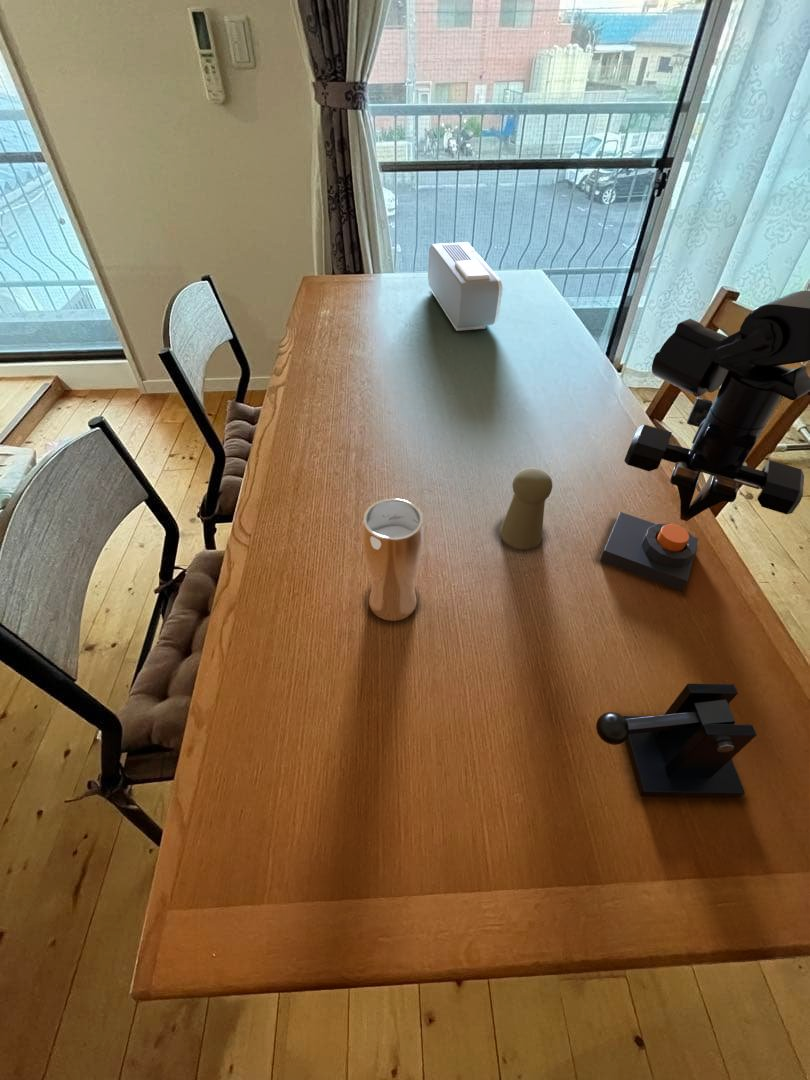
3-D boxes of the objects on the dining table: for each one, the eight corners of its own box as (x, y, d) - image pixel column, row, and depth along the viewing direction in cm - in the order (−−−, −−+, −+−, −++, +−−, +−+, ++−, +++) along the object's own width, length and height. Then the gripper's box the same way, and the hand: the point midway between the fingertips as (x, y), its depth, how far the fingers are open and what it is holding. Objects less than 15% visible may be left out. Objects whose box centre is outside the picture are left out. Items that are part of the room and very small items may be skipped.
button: (686, 538, 75) (691, 529, 74) (682, 555, 73) (687, 546, 72) (659, 529, 77) (664, 520, 75) (654, 546, 74) (658, 536, 73)
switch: (600, 751, 54) (599, 738, 51) (593, 722, 56) (592, 708, 54) (733, 738, 51) (738, 724, 49) (720, 708, 53) (725, 693, 51)
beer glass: (359, 589, 73) (353, 504, 62) (408, 575, 75) (411, 491, 64) (375, 630, 68) (373, 547, 58) (428, 615, 70) (434, 531, 59)
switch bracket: (640, 796, 55) (681, 750, 47) (619, 720, 61) (653, 668, 53) (740, 797, 55) (797, 752, 47) (710, 722, 61) (756, 670, 53)
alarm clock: (497, 333, 125) (504, 278, 117) (457, 336, 124) (462, 281, 115) (461, 285, 144) (466, 235, 135) (427, 288, 142) (429, 237, 133)
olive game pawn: (549, 542, 79) (567, 483, 72) (512, 553, 78) (526, 494, 70) (528, 515, 83) (542, 457, 75) (492, 525, 82) (503, 466, 74)
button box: (692, 548, 79) (703, 529, 76) (681, 591, 74) (693, 572, 71) (615, 522, 83) (623, 502, 80) (599, 561, 77) (607, 541, 74)
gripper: (835, 403, 62) (767, 506, 73) (664, 361, 68) (626, 462, 79) (835, 456, 55) (760, 560, 67) (645, 404, 61) (606, 507, 73)
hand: (683, 518), depth 71 cm, fingers closed
